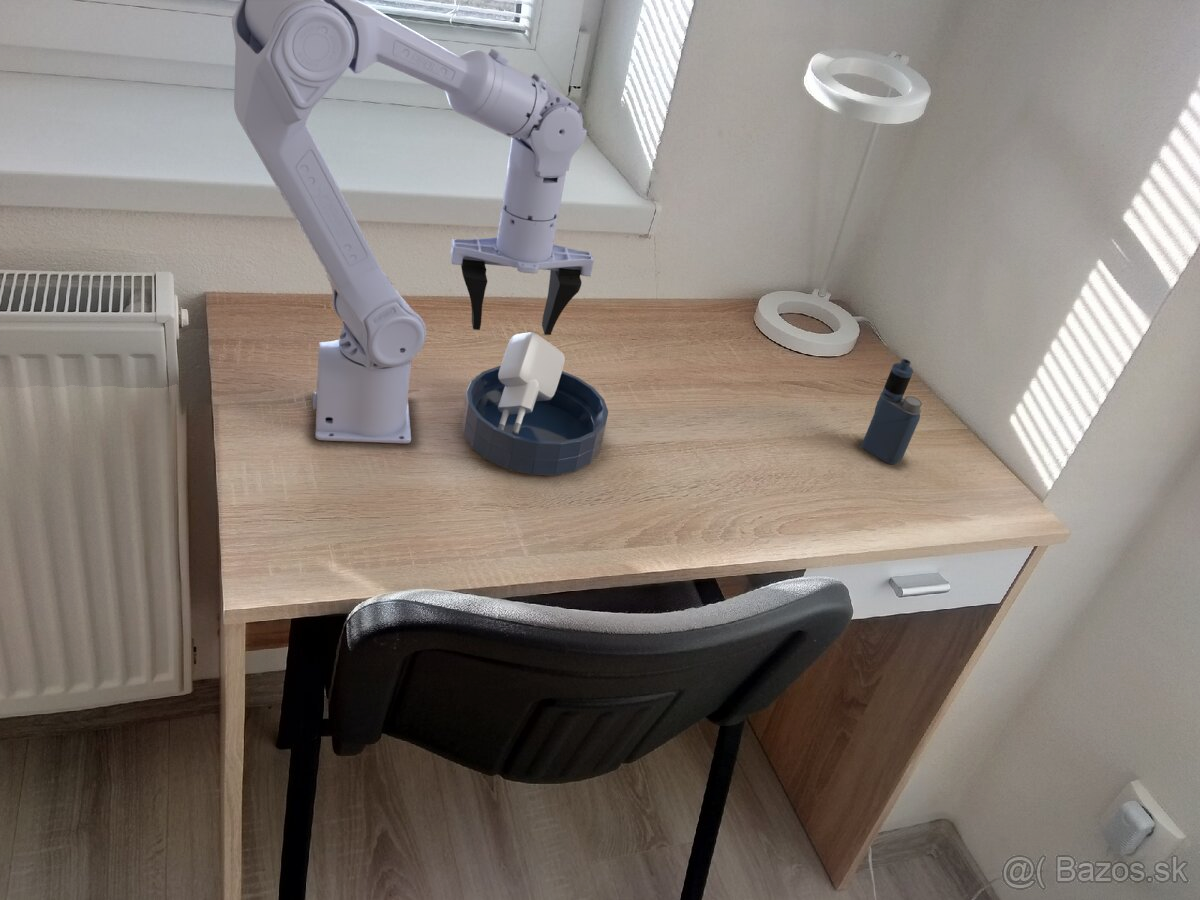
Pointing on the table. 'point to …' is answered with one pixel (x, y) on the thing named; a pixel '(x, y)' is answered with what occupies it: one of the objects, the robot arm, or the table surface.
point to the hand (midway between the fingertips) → (511, 327)
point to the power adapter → (528, 375)
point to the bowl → (536, 426)
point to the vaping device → (893, 417)
